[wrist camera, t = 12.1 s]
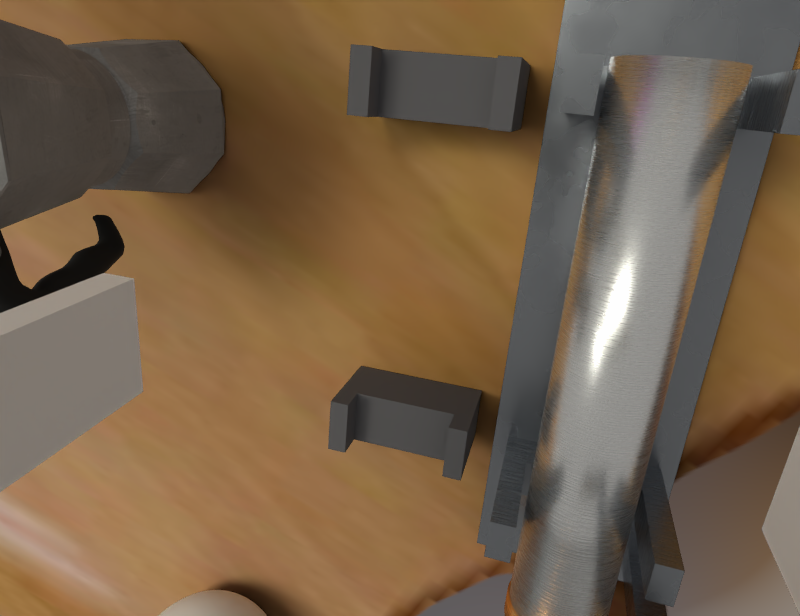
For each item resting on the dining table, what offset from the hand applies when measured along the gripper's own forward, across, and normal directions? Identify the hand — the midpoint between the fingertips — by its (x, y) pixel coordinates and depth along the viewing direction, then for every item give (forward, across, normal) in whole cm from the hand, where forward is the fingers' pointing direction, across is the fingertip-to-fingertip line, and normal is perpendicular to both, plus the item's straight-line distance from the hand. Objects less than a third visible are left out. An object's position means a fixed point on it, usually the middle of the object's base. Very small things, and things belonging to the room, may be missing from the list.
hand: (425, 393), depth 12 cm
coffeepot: (+23, -21, +1) cm, 31 cm away
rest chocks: (+22, -4, -4) cm, 23 cm away
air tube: (+18, +6, -7) cm, 20 cm away
